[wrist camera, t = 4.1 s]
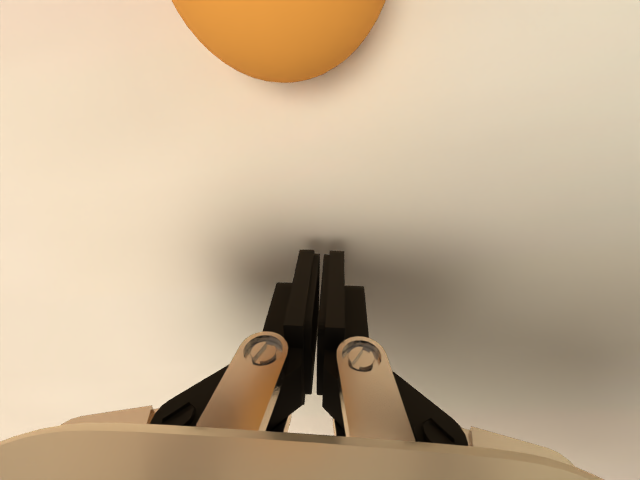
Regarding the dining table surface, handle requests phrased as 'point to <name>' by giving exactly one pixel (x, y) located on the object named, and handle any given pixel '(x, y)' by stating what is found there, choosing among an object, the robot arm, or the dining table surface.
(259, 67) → the ball
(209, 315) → the dining table surface
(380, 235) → the dining table surface
